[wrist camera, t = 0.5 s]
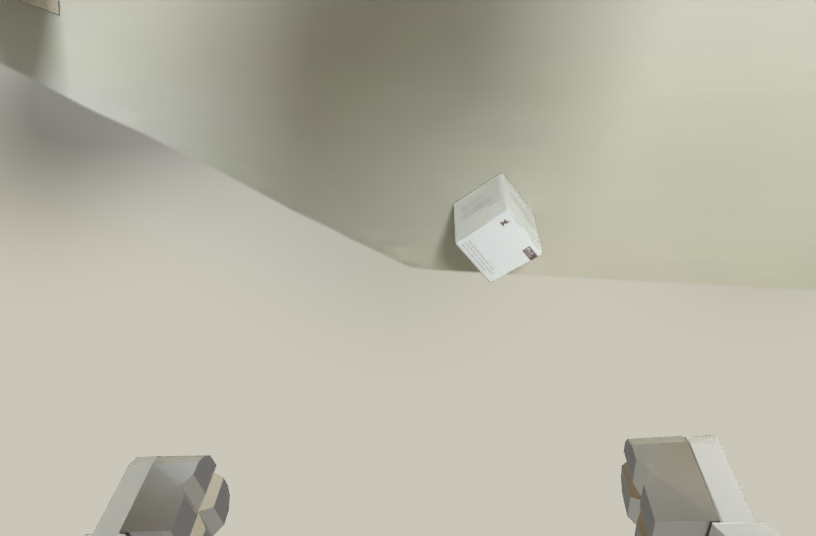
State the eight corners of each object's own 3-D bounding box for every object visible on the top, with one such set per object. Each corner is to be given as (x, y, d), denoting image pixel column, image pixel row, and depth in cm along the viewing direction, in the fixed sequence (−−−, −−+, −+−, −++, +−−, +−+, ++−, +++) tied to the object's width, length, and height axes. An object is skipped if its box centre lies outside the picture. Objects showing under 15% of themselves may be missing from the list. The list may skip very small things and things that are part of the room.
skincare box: (452, 203, 59) (452, 243, 53) (502, 170, 56) (508, 209, 50) (486, 242, 61) (489, 284, 55) (535, 213, 59) (544, 254, 53)
